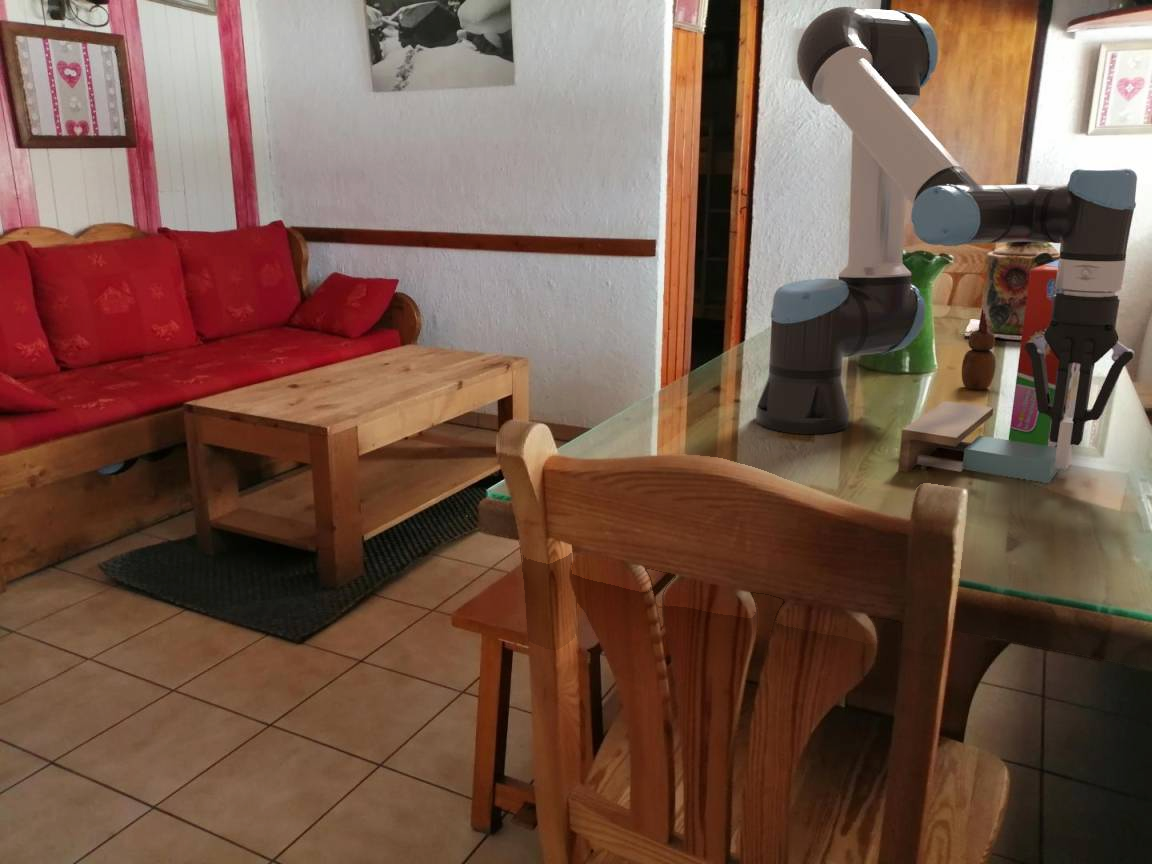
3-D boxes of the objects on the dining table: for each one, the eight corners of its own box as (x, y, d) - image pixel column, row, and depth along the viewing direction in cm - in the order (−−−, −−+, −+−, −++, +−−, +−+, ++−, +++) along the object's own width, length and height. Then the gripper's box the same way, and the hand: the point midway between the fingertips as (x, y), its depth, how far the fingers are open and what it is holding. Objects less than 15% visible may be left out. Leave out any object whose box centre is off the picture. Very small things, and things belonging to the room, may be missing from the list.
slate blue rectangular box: (962, 468, 127) (964, 448, 126) (977, 455, 133) (979, 435, 133) (1048, 483, 121) (1051, 462, 120) (1059, 468, 127) (1062, 448, 126)
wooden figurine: (962, 383, 179) (971, 307, 175) (994, 386, 176) (1004, 309, 172) (957, 390, 173) (965, 312, 169) (989, 393, 170) (999, 314, 166)
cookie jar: (968, 324, 248) (982, 204, 239) (1069, 330, 238) (1087, 205, 229) (962, 339, 227) (976, 208, 218) (1073, 346, 216) (1093, 208, 207)
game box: (1041, 421, 151) (1063, 256, 144) (1077, 427, 148) (1102, 258, 140) (1006, 450, 136) (1029, 267, 128) (1045, 457, 132) (1072, 269, 125)
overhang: (898, 470, 127) (902, 429, 125) (940, 437, 142) (944, 400, 141) (951, 480, 123) (956, 437, 121) (988, 445, 138) (993, 407, 136)
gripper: (1025, 292, 118) (1004, 464, 124) (1142, 299, 110) (1112, 482, 117) (1037, 286, 123) (1016, 451, 130) (1149, 292, 116) (1120, 467, 122)
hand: (1061, 465), depth 123 cm, fingers closed
